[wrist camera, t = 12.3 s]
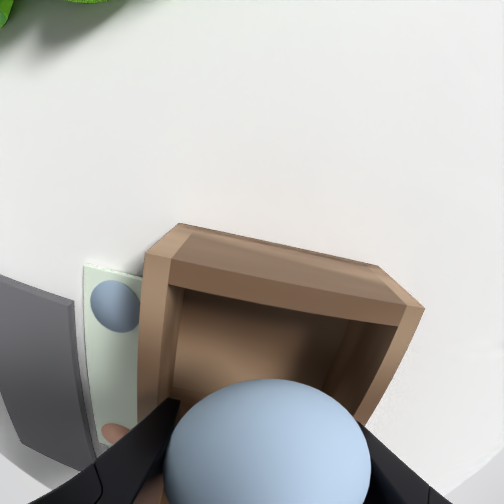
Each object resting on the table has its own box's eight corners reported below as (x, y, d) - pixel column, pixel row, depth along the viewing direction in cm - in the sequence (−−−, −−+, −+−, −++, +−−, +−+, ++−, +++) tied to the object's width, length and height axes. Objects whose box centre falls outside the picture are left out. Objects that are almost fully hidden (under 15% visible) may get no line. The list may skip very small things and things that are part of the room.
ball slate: (313, 457, 9) (334, 572, 5) (175, 440, 9) (148, 563, 4) (369, 352, 8) (445, 494, 3) (190, 323, 8) (135, 494, 3)
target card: (147, 453, 15) (146, 458, 15) (100, 439, 15) (98, 443, 15) (155, 280, 12) (153, 284, 12) (87, 263, 12) (82, 266, 11)
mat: (99, 472, 16) (97, 477, 16) (24, 438, 16) (21, 442, 15) (74, 300, 12) (67, 306, 12) (-21, 266, 12) (-27, 269, 11)
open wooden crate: (318, 411, 14) (333, 471, 10) (159, 385, 14) (138, 445, 10) (378, 265, 12) (425, 308, 8) (179, 222, 11) (145, 252, 8)
